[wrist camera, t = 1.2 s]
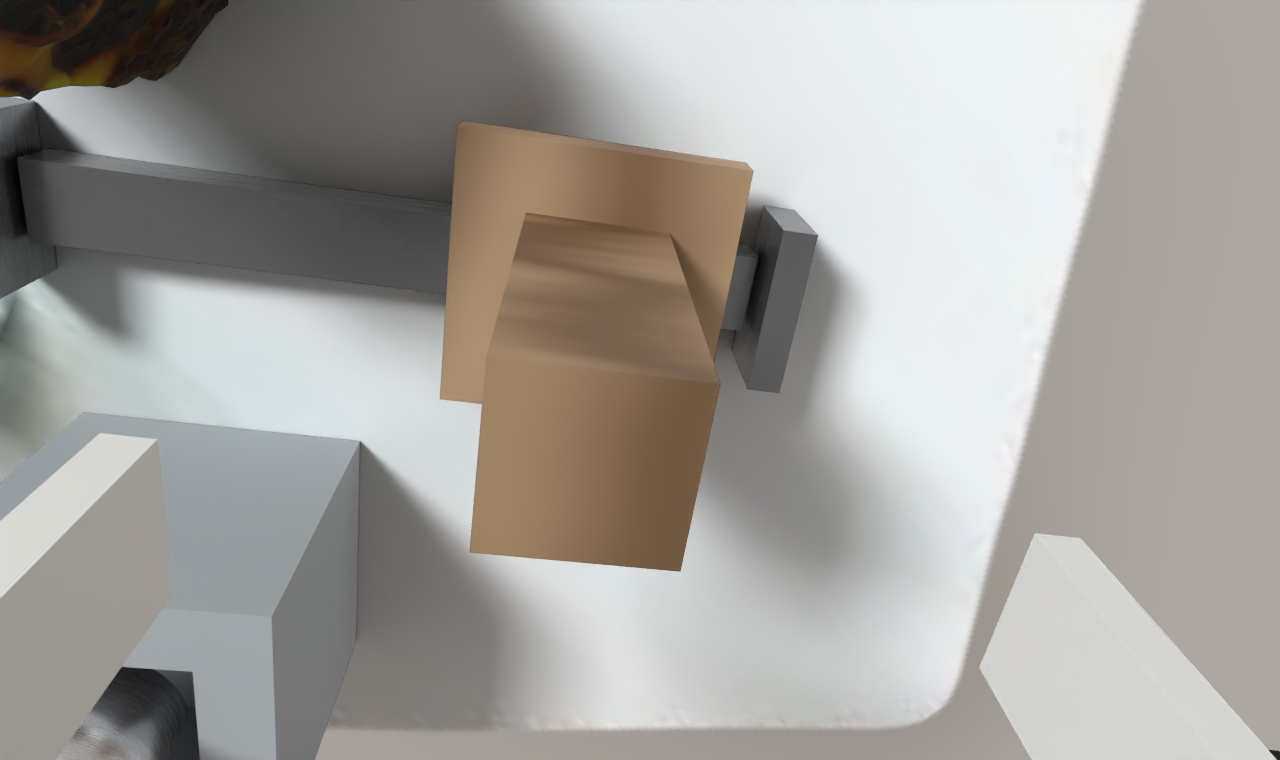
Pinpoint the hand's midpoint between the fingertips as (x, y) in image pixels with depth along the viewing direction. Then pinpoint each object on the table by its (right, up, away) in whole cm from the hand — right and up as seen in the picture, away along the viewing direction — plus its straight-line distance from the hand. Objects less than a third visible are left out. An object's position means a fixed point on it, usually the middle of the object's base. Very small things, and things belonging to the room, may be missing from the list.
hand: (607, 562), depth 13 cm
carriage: (-1, +7, +14) cm, 16 cm away
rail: (-7, +7, +13) cm, 17 cm away
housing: (-14, -3, +18) cm, 23 cm away
